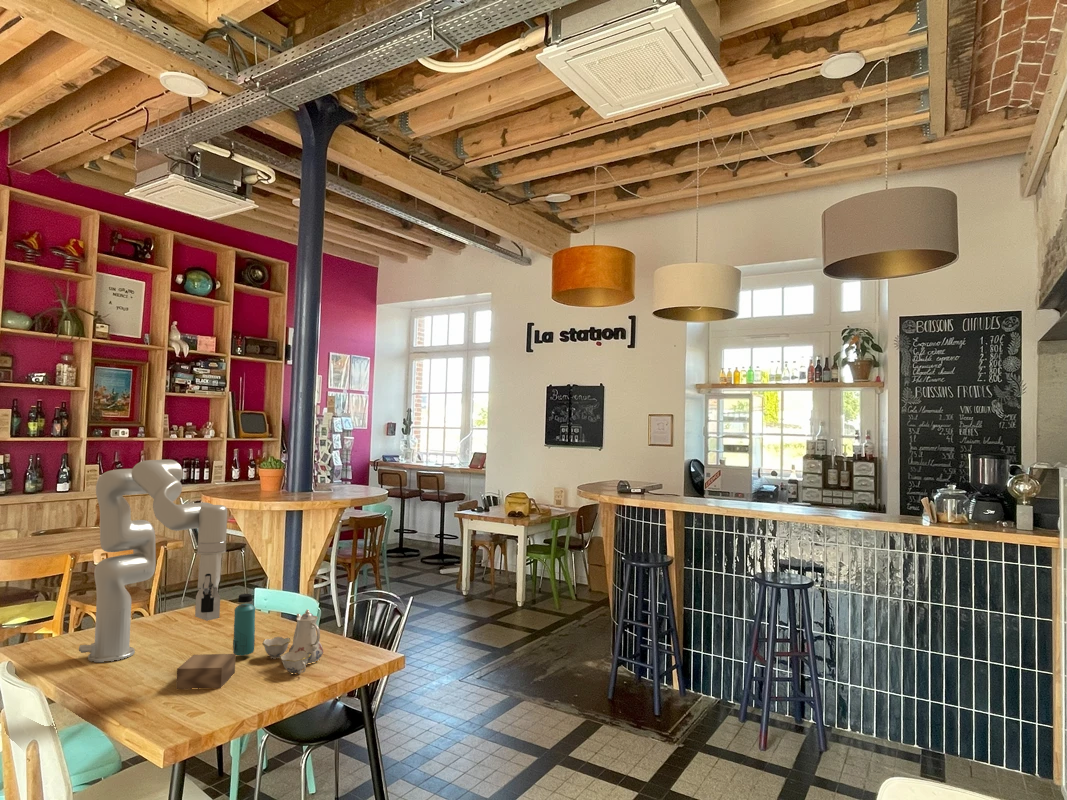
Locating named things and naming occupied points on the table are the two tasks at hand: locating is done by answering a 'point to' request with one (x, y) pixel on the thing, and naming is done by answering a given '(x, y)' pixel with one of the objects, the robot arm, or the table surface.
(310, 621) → the chinaware
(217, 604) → the milk carton
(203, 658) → the brown wooden block
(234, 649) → the beverage bottle
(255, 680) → the table surface
